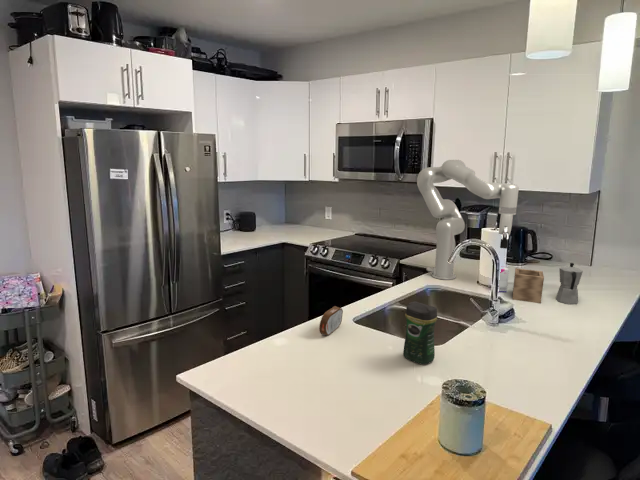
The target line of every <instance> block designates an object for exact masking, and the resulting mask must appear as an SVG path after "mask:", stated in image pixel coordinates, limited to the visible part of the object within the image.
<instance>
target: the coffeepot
mask: <svg viewBox="0 0 640 480" xmlns="http://www.w3.org/2000/svg"><path fill="white" fill-rule="evenodd" d="M574 265H575V263H573V262H570V263H569V266H561V267H559V282H560V286H559V287H558V290H557V293H556V297H555V301H557V302H559V303H562V304H565V305H577V304H578V303H579V289H578V286H579V284H580V283H581V282H580V281H581V278H582V275H583V272H584V270H583V269H580V268H577V267H574Z"/></svg>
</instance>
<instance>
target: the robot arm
mask: <svg viewBox="0 0 640 480" xmlns="http://www.w3.org/2000/svg"><path fill="white" fill-rule="evenodd" d="M450 180H453V181H455V182H458V183H459V184H461V185H463V186H464V187H465V188H466V189H467V190H468V191H469V192H470V193H472V194H473V195H476V196H478V197H479V198H482V199H484V200H491V199H493V200H494V199H499V206H498V207H499V208H498V214H499V215H500V219H499V227H498V228H499V229H498V235H499V234H500V235H501V236H502V239H501V238H500V244H499V245H500V246H499V247H500V249H504V250H505V249H506V250H507V249H508V247H509V236H510V235H511V233H512V232H511V231H512V228H513V227H512V226H513V220H514V219H513V217H514V216H515V215H517V207H518V200H519V189H520V188H519V187H520V186H519V185H518V184H513V183H501V182H486V181H485V180H483V179H481V178H480V177H478V176H476V171H475V170H474V169H472V168H470V167H468V166H466V163H465V162H464V161H462V160H460V159H448V160H446V161H444V162H443V164H441V166H433V167H431V166H430V167H429V166H428V167H424V168H423V169H421V170H420V172H419V173H418V175H417V178H416V184H417V189H418V190H419V192H420V194H421V195H422V197H423V200H424V202H425V204H426V206H427V208H428V210H429V212H430V214H431V215H432V217H433V218H436V219H441V218H442V219H441V220H439V221H438V222H437V224H436V227H435V233H436V246H435V247H436V251H435V252H436V253H435V265H434V267H433V266H432V267H430V266H429V267H428V266H426V271H427V272H431V277H432V278H435V279H438V280H445V281H449V280H455V279H456V278H457V275H456V274H455V273H454V265H455V261H454V262H453V263H451V264H449V263H448V262H447V261H448V258H449V256H450V255H451V253H452V252H453V250H454V249H455V250H456V239H455V236H456V235H457V236H458V235H460V234H461V233H463V232H464V230H465V227H466V225H465V224H466V223H465V221H464V218H463V216H462V215H461V213H460V211H459V208H458V207H457V205H456V204H455V202H454V201H452V200H451V199H448V198H447V199H443V197H442V195H441V194H440V191H439V190H438V188H436V186H435V185H434V184H439V183H444V182H447V181H450ZM507 233H508V234H507Z"/></svg>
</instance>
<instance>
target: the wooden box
mask: <svg viewBox="0 0 640 480" xmlns="http://www.w3.org/2000/svg"><path fill="white" fill-rule="evenodd" d="M514 269H515V271H514V276H513V277H514V279H513V287H512V300H514V301H521V302H528V303H535V304H541V303H542V297H543V287H544V280H545V276H544V273H543V270H535V269H525V268H514Z"/></svg>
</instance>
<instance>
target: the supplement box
mask: <svg viewBox="0 0 640 480" xmlns="http://www.w3.org/2000/svg"><path fill="white" fill-rule="evenodd" d="M504 267H505V268H503V269H501V272H500V280H499V292H498V293H508V281H509V268H508V267H506V266H504Z"/></svg>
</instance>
